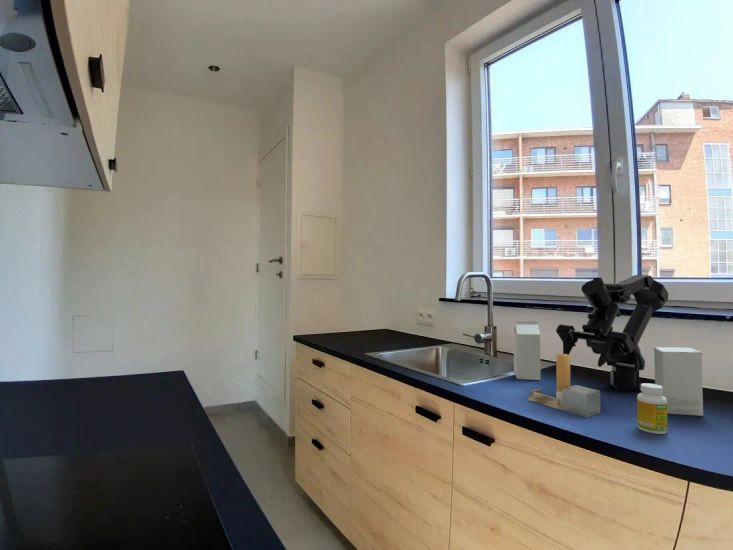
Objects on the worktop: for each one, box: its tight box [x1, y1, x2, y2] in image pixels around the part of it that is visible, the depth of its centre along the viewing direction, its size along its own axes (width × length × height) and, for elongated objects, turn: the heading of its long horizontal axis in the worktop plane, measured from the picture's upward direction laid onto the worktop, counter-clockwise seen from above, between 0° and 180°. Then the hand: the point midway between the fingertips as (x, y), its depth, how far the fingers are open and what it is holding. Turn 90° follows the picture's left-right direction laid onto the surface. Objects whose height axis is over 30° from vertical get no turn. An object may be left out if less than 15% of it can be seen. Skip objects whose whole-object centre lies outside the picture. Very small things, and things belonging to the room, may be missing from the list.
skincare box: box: [653, 346, 704, 417], centre depth 99 cm, size 8×7×16 cm
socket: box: [562, 384, 601, 418], centre depth 99 cm, size 6×6×6 cm
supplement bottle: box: [636, 382, 668, 435], centre depth 87 cm, size 5×5×10 cm
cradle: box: [527, 388, 563, 411], centre depth 106 cm, size 10×6×2 cm, turn 32°
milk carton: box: [513, 320, 541, 381], centre depth 134 cm, size 7×7×19 cm
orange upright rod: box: [555, 353, 571, 405], centre depth 101 cm, size 8×3×12 cm, turn 32°
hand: (581, 362), depth 108 cm, fingers open, 9 cm apart
